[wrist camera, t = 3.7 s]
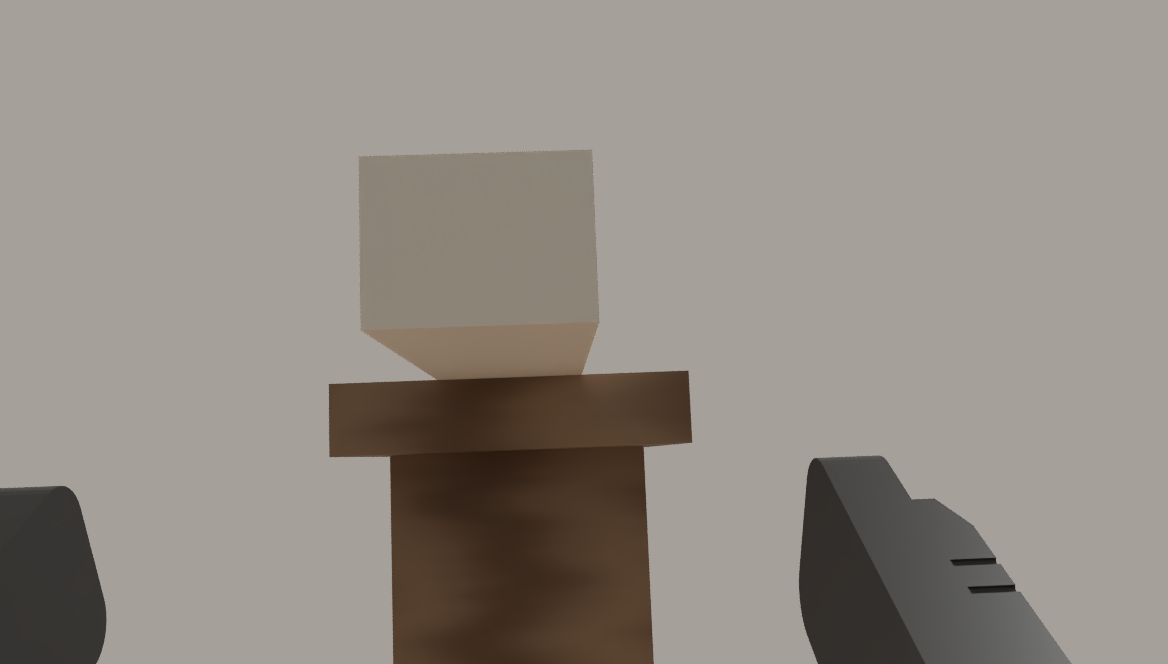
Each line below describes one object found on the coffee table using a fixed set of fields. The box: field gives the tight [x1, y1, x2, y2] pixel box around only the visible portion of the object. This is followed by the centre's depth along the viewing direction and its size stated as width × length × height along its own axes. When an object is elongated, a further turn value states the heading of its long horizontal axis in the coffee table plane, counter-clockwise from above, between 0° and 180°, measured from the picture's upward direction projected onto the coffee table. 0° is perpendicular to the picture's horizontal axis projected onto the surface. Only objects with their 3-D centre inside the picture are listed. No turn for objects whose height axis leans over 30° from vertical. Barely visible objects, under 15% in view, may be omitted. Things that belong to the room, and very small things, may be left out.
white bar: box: [359, 150, 599, 380], centre depth 31 cm, size 5×29×6 cm, turn 2°
